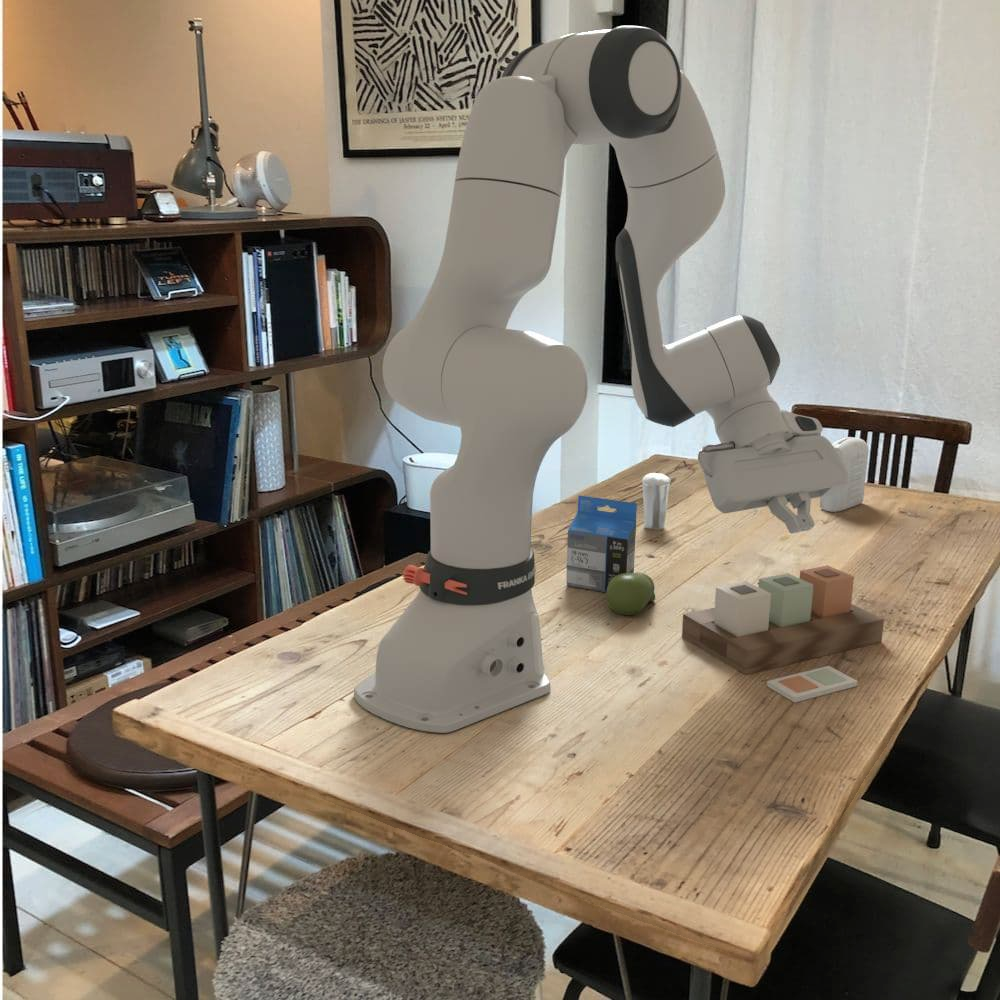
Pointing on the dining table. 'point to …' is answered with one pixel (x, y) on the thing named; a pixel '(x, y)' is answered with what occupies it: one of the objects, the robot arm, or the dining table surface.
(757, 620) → the key ivory
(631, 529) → the label tape cartridge
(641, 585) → the pear
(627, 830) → the dining table surface
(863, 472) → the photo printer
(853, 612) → the keypad base
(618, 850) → the dining table surface
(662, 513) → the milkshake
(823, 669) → the tile
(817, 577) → the key rust
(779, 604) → the key sage
